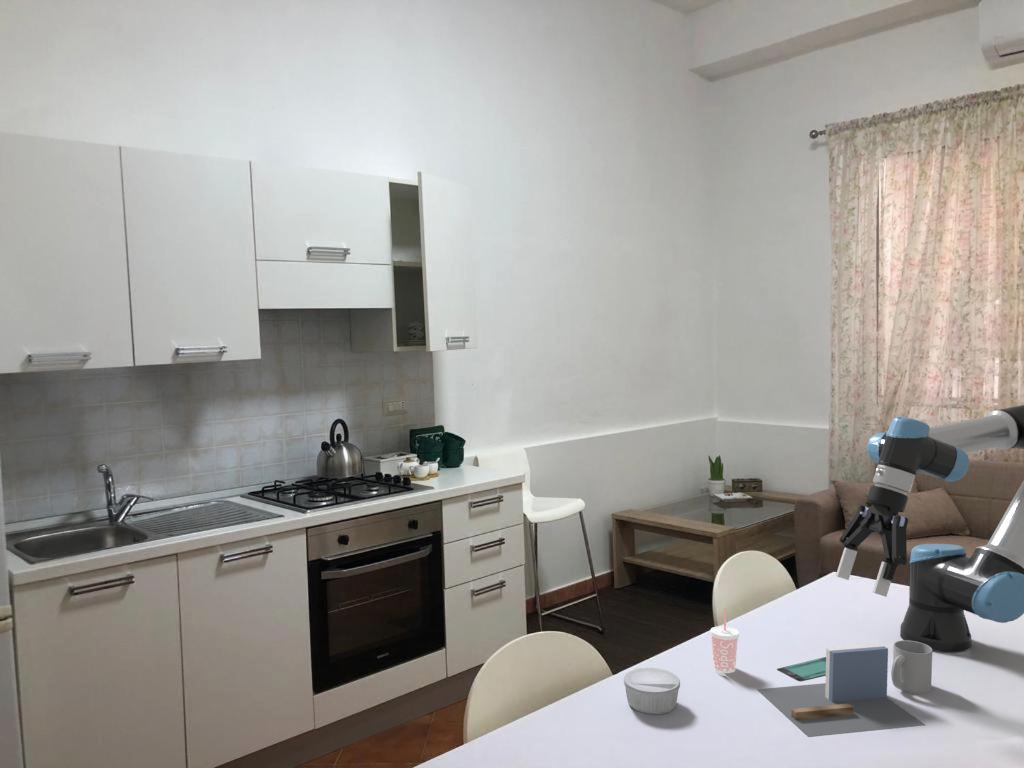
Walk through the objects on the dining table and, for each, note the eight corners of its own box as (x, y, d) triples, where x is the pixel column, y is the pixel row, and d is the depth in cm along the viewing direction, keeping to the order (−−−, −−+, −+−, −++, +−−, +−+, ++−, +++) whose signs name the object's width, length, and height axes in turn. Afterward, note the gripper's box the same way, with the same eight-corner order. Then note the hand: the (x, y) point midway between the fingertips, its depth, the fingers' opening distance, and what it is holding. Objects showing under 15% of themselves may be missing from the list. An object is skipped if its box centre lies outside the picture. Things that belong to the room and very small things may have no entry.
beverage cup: (706, 673, 178) (707, 610, 177) (713, 663, 184) (714, 602, 183) (735, 679, 175) (736, 615, 174) (741, 668, 181) (742, 606, 180)
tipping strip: (848, 711, 159) (848, 703, 159) (853, 714, 158) (853, 707, 158) (791, 716, 157) (791, 708, 157) (795, 720, 156) (795, 712, 156)
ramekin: (645, 722, 156) (645, 695, 156) (612, 699, 166) (612, 674, 166) (691, 709, 162) (692, 683, 161) (656, 688, 172) (657, 663, 171)
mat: (862, 682, 173) (862, 679, 173) (926, 727, 154) (926, 724, 154) (756, 692, 169) (756, 689, 169) (808, 739, 149) (808, 736, 149)
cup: (938, 691, 169) (939, 649, 168) (909, 703, 164) (910, 659, 163) (905, 678, 175) (907, 637, 175) (876, 689, 170) (877, 647, 169)
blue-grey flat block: (879, 691, 168) (880, 644, 167) (886, 697, 165) (888, 648, 164) (825, 696, 165) (826, 648, 165) (832, 702, 163) (833, 653, 162)
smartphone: (775, 668, 179) (826, 655, 185) (775, 673, 179) (826, 661, 185) (800, 681, 172) (852, 667, 179) (800, 686, 172) (852, 673, 179)
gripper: (841, 476, 185) (813, 567, 184) (912, 492, 160) (880, 596, 159) (870, 486, 186) (842, 576, 185) (945, 504, 161) (913, 607, 160)
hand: (859, 586), depth 172 cm, fingers open, 13 cm apart
